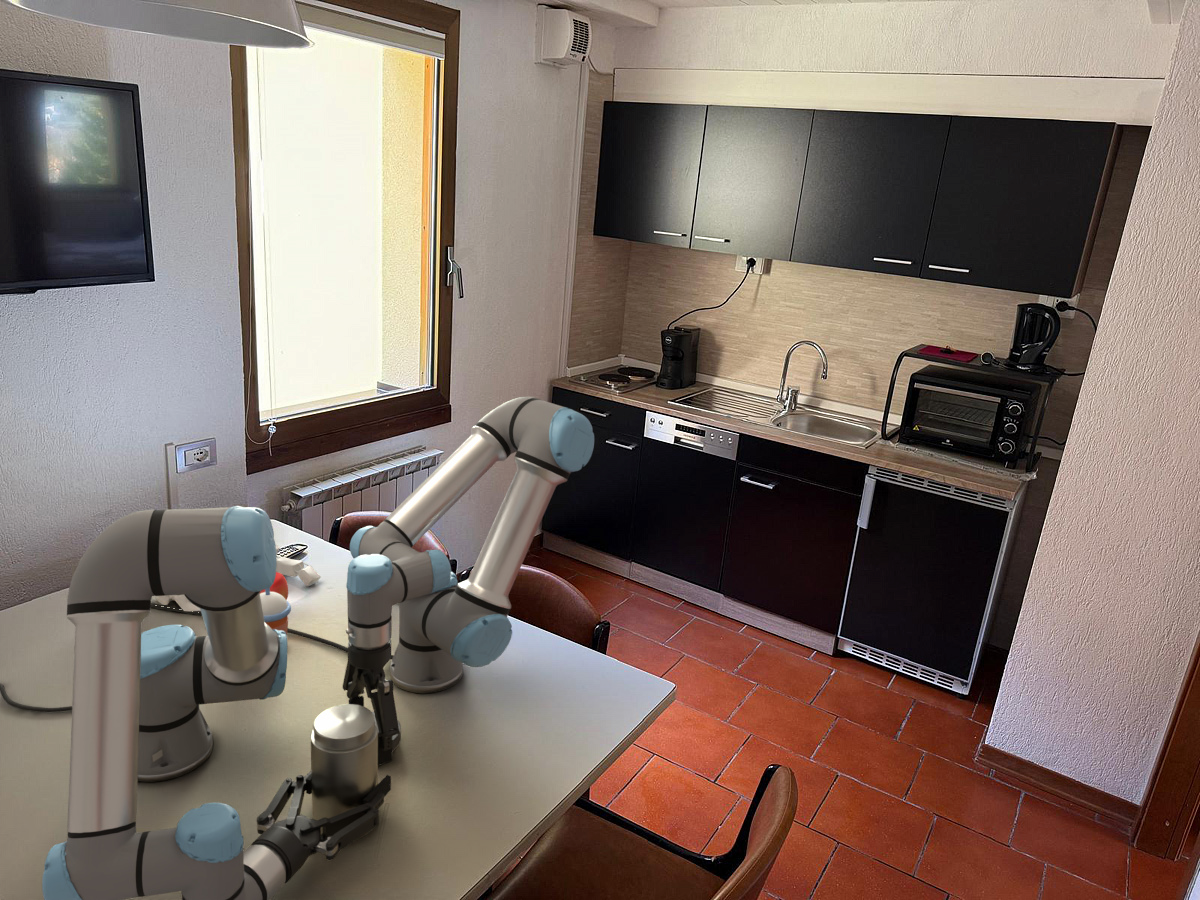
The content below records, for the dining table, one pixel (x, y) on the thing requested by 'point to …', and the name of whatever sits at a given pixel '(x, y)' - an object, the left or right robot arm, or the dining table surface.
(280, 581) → the apple
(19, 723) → the dining table surface
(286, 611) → the cup with straw
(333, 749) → the jar
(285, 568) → the clamp
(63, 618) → the dining table surface
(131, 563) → the left robot arm
